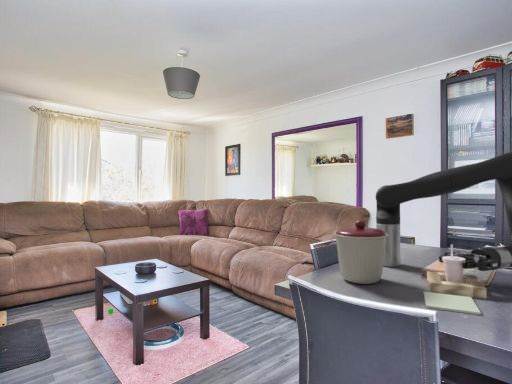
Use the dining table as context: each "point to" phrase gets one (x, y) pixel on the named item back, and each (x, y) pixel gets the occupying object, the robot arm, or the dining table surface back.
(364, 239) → the canister
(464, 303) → the mat
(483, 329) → the dining table surface
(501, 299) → the dining table surface
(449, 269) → the smoothie
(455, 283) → the holder
